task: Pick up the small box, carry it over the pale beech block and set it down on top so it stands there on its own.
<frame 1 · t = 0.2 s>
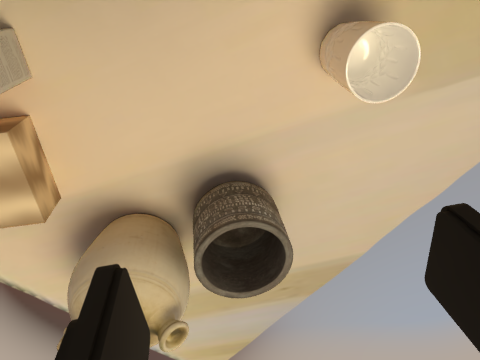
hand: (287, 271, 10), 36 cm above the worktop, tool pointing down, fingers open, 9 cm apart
jug: (140, 243, 54), on the worktop
planter: (232, 205, 52), on the worktop
white cup: (344, 50, 44), on the worktop
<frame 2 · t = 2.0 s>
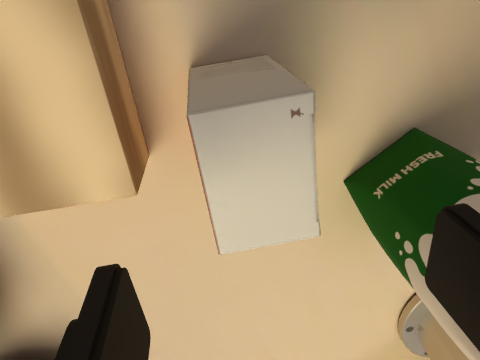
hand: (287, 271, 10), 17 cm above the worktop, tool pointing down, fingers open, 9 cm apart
beech block: (36, 87, 23), on the worktop
milk carton: (396, 181, 30), on the worktop
small box: (237, 115, 25), on the worktop
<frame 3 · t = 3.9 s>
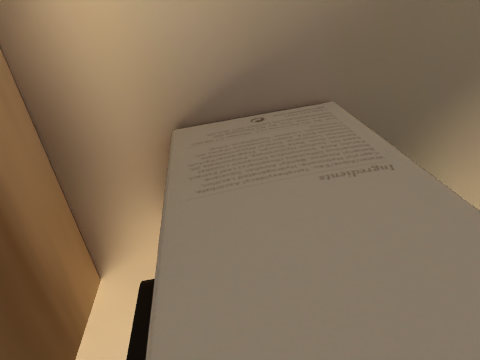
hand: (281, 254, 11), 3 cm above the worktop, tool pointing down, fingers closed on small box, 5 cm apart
small box: (265, 207, 13), on the worktop, touching gripper
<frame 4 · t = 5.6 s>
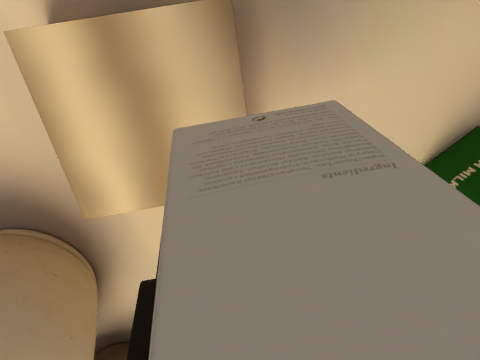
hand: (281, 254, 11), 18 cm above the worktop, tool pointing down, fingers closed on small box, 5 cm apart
jug: (32, 277, 33), on the worktop
beech block: (158, 97, 26), on the worktop
milk carton: (458, 174, 33), on the worktop
small box: (266, 206, 13), point 15 cm above the worktop, touching gripper
when the fingers open (10 cm above the worktop, at t = 7.7 s): small box drops 1 cm, resting on beech block.
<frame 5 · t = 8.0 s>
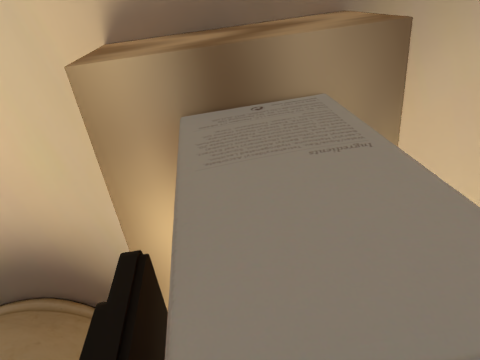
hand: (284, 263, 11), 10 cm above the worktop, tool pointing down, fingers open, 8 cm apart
jug: (58, 351, 26), on the worktop
beech block: (241, 139, 20), on the worktop
small box: (262, 190, 15), point 6 cm above the worktop, touching beech block
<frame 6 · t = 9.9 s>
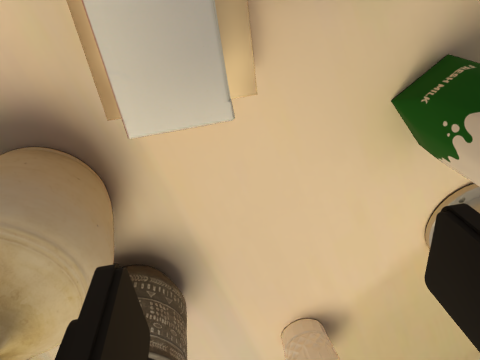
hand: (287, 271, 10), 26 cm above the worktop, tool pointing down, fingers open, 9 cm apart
jug: (50, 198, 36), on the worktop
planter: (137, 288, 44), on the worktop
white cup: (301, 331, 53), on the worktop
beech block: (168, 19, 29), on the worktop
milk carton: (431, 102, 37), on the worktop
small box: (168, 26, 24), point 6 cm above the worktop, touching beech block
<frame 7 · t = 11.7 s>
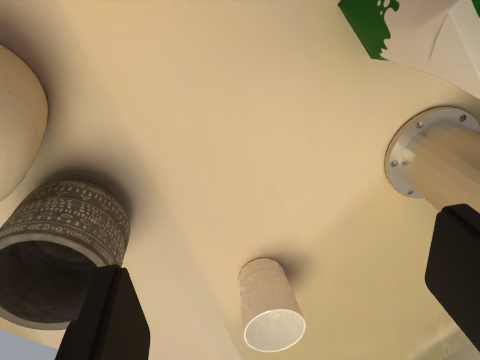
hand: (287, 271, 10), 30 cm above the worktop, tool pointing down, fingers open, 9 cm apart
planter: (84, 209, 43), on the worktop
white cup: (260, 273, 52), on the worktop
milk carton: (381, 9, 36), on the worktop
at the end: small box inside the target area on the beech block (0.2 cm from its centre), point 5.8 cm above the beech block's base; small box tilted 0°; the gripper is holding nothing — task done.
